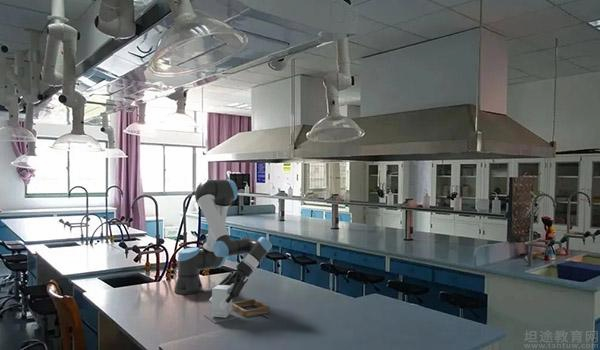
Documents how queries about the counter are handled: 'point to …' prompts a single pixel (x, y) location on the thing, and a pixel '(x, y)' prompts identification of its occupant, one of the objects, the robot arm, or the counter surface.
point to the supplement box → (218, 297)
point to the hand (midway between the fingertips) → (215, 304)
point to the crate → (246, 313)
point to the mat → (221, 318)
